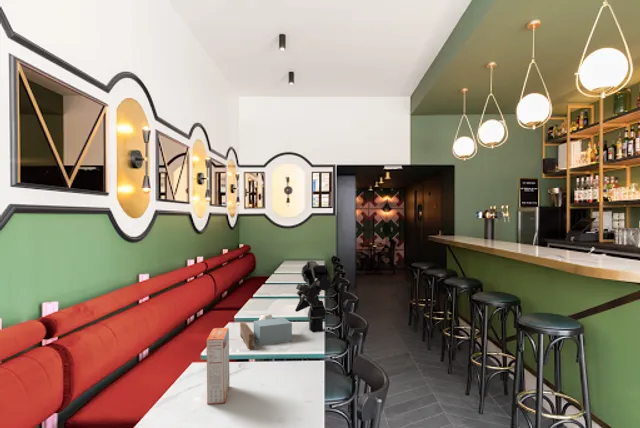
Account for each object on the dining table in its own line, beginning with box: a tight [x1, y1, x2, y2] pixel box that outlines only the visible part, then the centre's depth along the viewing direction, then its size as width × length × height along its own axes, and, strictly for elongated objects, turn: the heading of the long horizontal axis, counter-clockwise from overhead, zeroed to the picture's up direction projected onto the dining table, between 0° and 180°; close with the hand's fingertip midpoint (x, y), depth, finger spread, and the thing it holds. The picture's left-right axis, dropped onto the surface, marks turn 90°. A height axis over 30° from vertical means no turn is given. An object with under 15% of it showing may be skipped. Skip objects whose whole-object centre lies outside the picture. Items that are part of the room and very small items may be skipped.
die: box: [258, 313, 274, 320], centre depth 217 cm, size 8×9×10 cm
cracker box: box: [205, 327, 230, 405], centre depth 135 cm, size 14×6×21 cm, turn 6°
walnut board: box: [239, 321, 255, 350], centre depth 194 cm, size 2×24×7 cm, turn 20°
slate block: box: [253, 317, 293, 346], centre depth 199 cm, size 16×12×9 cm
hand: (295, 311), depth 203 cm, fingers closed
